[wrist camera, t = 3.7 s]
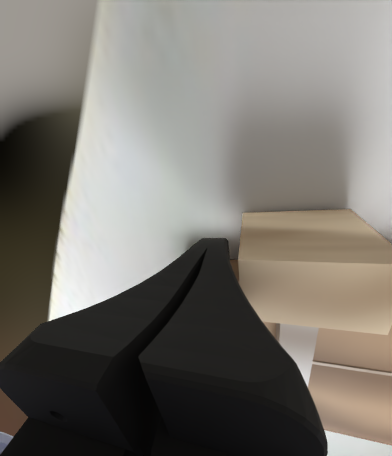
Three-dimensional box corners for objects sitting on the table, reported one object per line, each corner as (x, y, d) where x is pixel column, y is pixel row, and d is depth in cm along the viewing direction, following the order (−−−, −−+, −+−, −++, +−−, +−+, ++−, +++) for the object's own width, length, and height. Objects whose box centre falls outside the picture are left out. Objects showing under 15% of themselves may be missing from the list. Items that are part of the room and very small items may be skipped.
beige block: (322, 343, 14) (350, 427, 10) (247, 333, 15) (245, 404, 11) (350, 209, 10) (416, 265, 6) (242, 212, 11) (238, 259, 7)
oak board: (523, 439, 14) (565, 486, 12) (206, 377, 20) (202, 402, 18) (730, 274, 8) (873, 319, 6) (184, 258, 14) (173, 278, 12)
